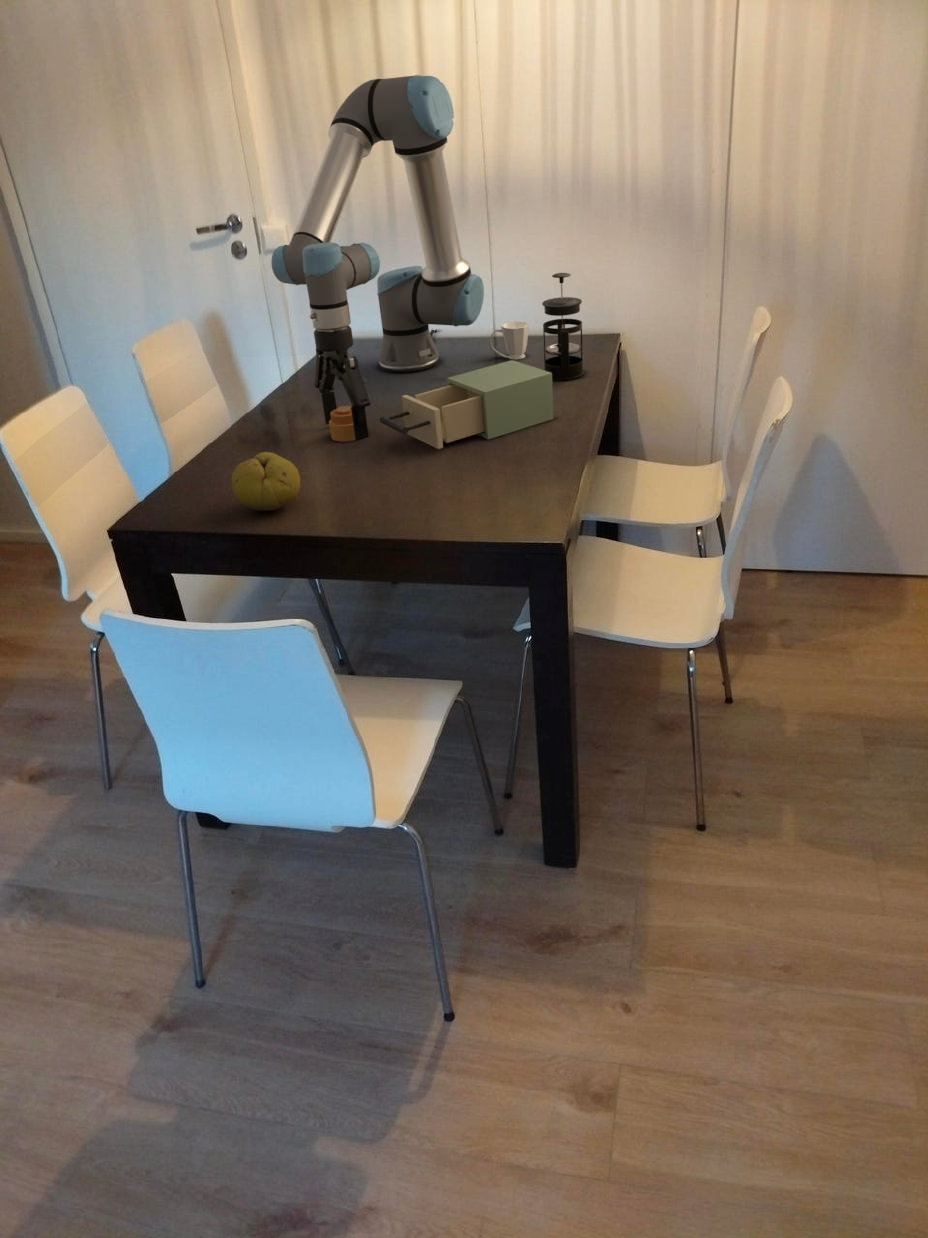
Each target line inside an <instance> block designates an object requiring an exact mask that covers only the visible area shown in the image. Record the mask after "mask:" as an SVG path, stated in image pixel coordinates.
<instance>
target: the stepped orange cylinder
mask: <svg viewBox="0 0 928 1238" xmlns="http://www.w3.org/2000/svg"><path fill="white" fill-rule="evenodd" d="M351 407H352V405H342V406H339V407H337V408H336V409H335V410H333V411H332V412H331V413H330V414H331V420H330V421H329V424H328V427H329V431H330V438H331V440H332V441H334V442H339V443H340V442H341V443H342V442H343V443H344V442H352V441H353V442H354V441H356V440H355V433H354V426H353V418H352V411H351Z"/></svg>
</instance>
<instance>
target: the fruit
mask: <svg viewBox="0 0 928 1238" xmlns="http://www.w3.org/2000/svg"><path fill="white" fill-rule="evenodd" d="M231 487H232V491H233V495H234V497H235V498H236V499H237V501H239V503H241V504H242V505H243V506H244V507H247V508H249V509H251V510H254V511H261V512H263V511H265V512H267V511H269V512H273V511H277V510H280V509H281V508H283V507H285V506H286V505H287V504H289V503H290V502H292V501H293V500H294V499H295V498H296V497H297V496H298V494H299V491H300V488H301V475H300V473H299V469H298V468H297V467H296V465H295V464H294V463H293V462H292V461H290V460H289V459H286V458H285V457H282V456H280V455H278V454H277V453H273V452H270V451H263V452H259V453H257V454H256V455H255V456H254V457H252V458H249V459H246V460H245V461H243V462H240V463H239V464H238V465H237V466H236V467H235V468H234V470H233V472H232V474H231Z"/></svg>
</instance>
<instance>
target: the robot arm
mask: <svg viewBox="0 0 928 1238" xmlns="http://www.w3.org/2000/svg"><path fill="white" fill-rule="evenodd" d="M454 113H455V112H454V106H453V101H452V97H451V95H450V93H449V91H448V89H447V88H446V86H445V84H444V83H443V82H441V80H440V79H439V78H438V77H436V76H433V75H421V74H414V75H407V76H406V75H405V76H398V77H397V76H396V77H387V78H373V79H369V80H367V81H366V82H363V83H362V84H360V85H359V86H358V87H356V88H355V89H354V90H353V91H352V92H351V93H350V94H349V95H348V96H347V97H346V98H345V100H344V101H343V102H342V103H341V105H340V106H339V108H338V109H337V111H336V113H335V115H334V117H333V119H332V120H331V124H330V126H329V127H328V131H327V136H328V137H327V138H328V140H329V142H328V145H327V147H326V150H325V152H324V155H323V158H322V160H321V163H320V165H319V168H318V171H317V173H316V176H315V178H314V180H313V182H312V186H311V188H310V191H309V193H308V196H307V199H306V202H305V204H304V207H303V209H302V211H301V213H300V217H299V219H298V222H297V224H296V226H295V229H294V232H293V235H292V237H291V240H290V242H289V244H284V245H279V246H277V247H276V248H275V249H274V250H273V252H272V254H271V259H270V260H271V262H270V263H271V269H272V273H273V276H275V278H276V280H278V281H279V282H281V283H283V284H288V285H295V286H300V285H303V286H304V285H306V289H307V295H308V302H309V308H310V309H309V311H310V314H309V319H310V320H311V322H312V323H311V324H312V328H313V329H314V330H313V338H314V343H315V355H316V356H315V357H316V360H315V361H316V362H315V375H314V387H315V388H316V389H318V391H319V393H320V394H321V395H320V396H321V401H322V407H323V414H324V420H325V424H326V425H328V426H329V421H330V420H331V414H330V413H331V412H332V411H333V410H335V409H336V408H338V407H337V401H336V394H335V391H334V390H336V389H335V387H334V383H335V381H336V378H337V380H338V381H340V382H341V383H342V386H343V388H344V390H345V392H346V394H347V397H348V399H349V400H350V403H351V406H352V407H351V411H352V418H353V426H354V433H355V440H354V441H360V440H365V439H367V438H370V435H369V429H368V421H367V414H366V407H370V406H371V400H370V398H369V397H370V396H369V394H368V391H367V389H366V385H365V382H364V379H363V377H362V374H361V371H360V368H359V363H358V358H357V356H356V355H354V356H349V352H348V350H349V349H350V348H351V347H352V346H353V345H354V338H353V330H352V329H353V328H352V327H351V326H350V325H351V323H352V321H351V320H352V319H351V314H350V306H349V301H348V293H347V291H348V290H350V289H353V288H355V287H358V286H360V285H366V284H367V283H368V282H370V281H371V280H374V279H375V278H376V277H377V275H378V274H379V271H380V267H381V261H380V257H379V254H378V252H377V251H376V249H375V248H374V247H373V246H372V245H371V244H369V243H366V242H359V243H358V242H357V243H356V242H355V243H352V244H350V245H339V244H338V243H336V242H332V239H333V236H334V234H335V231H336V228H337V226H338V223H339V220H340V218H341V215H342V213H343V211H344V207H345V206H346V202H347V199H348V197H349V194H350V192H351V189H352V187H353V184H354V182H355V179H356V177H357V175H358V171H359V169H360V166H361V163H362V161H363V159H364V158H367V157H368V156H370V153H371V151H372V149H373V146H374V145H375V144H377V143H378V142H379V143H380V142H388V141H389V142H390V141H392V145H393V150H394V154H395V155H396V156H397V157H399V158H400V159H402V160H403V163H404V168H405V172H406V173H405V174H406V179H407V181H408V182H407V183H408V186H409V191H410V196H411V201H412V206H413V210H414V215H415V221H416V224H417V229H418V234H419V239H420V243H421V248H422V253H423V258H424V261H425V262H424V263H425V266H424V267H423V266H421V265H413V266H406V267H401V268H396V269H392V270H390V271H387V272H384V273H381V274H380V275H379V276H378V277H377V280H376V285H377V294H376V295H377V298H378V305H379V306H378V307H379V314H380V322H381V329H382V342H381V347H380V350H379V351H380V352H379V357H378V358H379V359H378V364H379V368H380V369H381V370H383V371H385V372H389V373H413V372H420V371H424V370H428V369H430V368H433V367H435V366H437V365H438V364H439V362H440V356H439V352H438V349H437V347H436V345H435V343H434V339H433V335H434V333H437V332H438V330H437V329H436V330H435V331H434V330H432V329H431V331H430V328H429V327H430V326H429V325H435V326H436V325H437V326H452V327H453V326H454V327H459V326H461V327H462V326H464V327H465V326H471V325H472V324H474V323H475V322H476V321H477V319H478V318H479V316H480V314H481V311H482V308H483V304H484V297H485V287H484V282H483V279H482V278H481V276H480V275H477V274H475V273H473V274H472V270H471V264H470V262H469V261H468V260H466V259H465V258H463V255H462V252H461V246H460V245H461V244H460V239H459V235H458V234H459V233H458V230H457V224H456V219H455V218H456V217H455V213H454V208H453V202H452V196H451V191H450V186H449V180H448V175H447V169H446V164H445V158H444V152H443V151H444V149H445V148H446V147H447V144H448V143H449V142H448V136H450V134H451V133H452V130H453V128H454V120H453V119H454V118H455V114H454Z"/></svg>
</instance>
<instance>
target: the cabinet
mask: <svg viewBox="0 0 928 1238" xmlns="http://www.w3.org/2000/svg"><path fill="white" fill-rule="evenodd" d="M446 381H447V383H446V384H447V386H449V385H453V384H454V385H457V386H459V387H462V388H464V389H467V390H470V391H472V392H475V393H477V394H480V395H483V407H484V421H485V431H484V432H481V433H478V434H476V436H479V437H482V438H484V439H486V440H490V439H494V438H498V437H500V436H501V437H502V436H504V435H507V434H510V433H513V432H517V431H520V430H523V429H525V428H529V427H532V426H536V425H538V424H542V423H545V422H549V421H552V420H554V394H553V393H554V391H553V380H552V373H551V372H548V371H545V369H541V368H538V367H535V366H532V365H529V364H526V363H523V362H520V361H516V360H514V359H510V360H508V361H504V362H500V363H496V364H492V365H489V366H486V367H482V368H478V369H474V370H470V371H467V372H464V373H460V374H456V375H452V376H449V377H447V378H446Z"/></svg>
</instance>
